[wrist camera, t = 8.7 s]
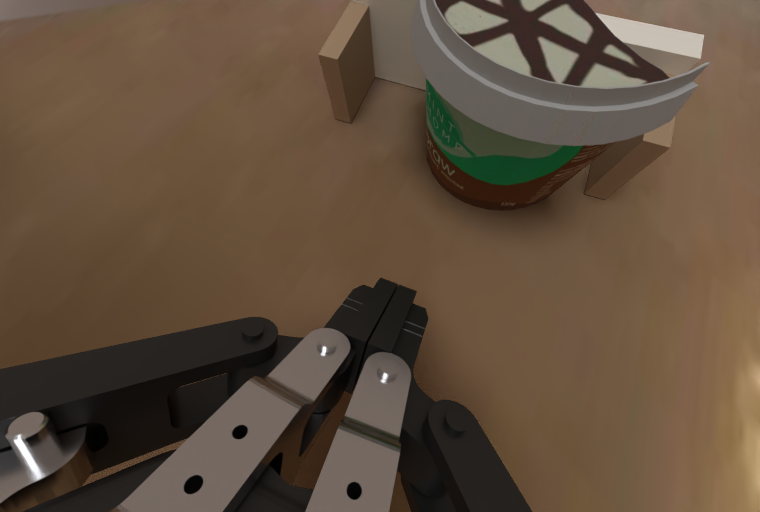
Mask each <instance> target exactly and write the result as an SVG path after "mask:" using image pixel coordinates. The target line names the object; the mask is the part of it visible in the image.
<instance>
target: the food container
mask: <svg viewBox="0 0 760 512" xmlns="http://www.w3.org/2000/svg"><path fill="white" fill-rule="evenodd" d="M411 35H412V46H413V49H414V53H415V56H416V59H417V62H418V64H419V66H420V68H421V70H422V71H423V73H424V75H425V77H426V151H427V161H428V164H429V166H430V169H431V171H432V174H433V175H434V177H435V178H436V180H437V181H438V183H439V184H440V185H441V186H442V187H443V188H444V189H445V190H446V191H448V192H449V193H450V194H452V195H453V196H454V197H456V198H458V199H460V200H461V201H463V202H465V203H468V204H471V205H473V206H476V207H480V208H485V209H491V210H513V209H518V208H523V207H527V206H530V205H532V204H535V203H537V202H539V201H541V200H543V199H545V198H547V197H548V196H549V195H551V194H552V193H553V192H554V191H556V190H557V189H558V188H559V187H561V186H562V185H563V184H564V183H566V182H567V181H568V180H569V179H571V178H572V177H573V176H574V175H576V174H577V173H578V172H579V171H581V170H582V169H583V168H584V167H586V166H587V165H588V164H589V163H591V162H592V161H593V160H594V159H596V158H597V157H598V156H599V155H601V154H602V153H603V152H604V151H606V150H607V149H608V148H609V147H611V146H612V145H613V144H614V143H616V142H617V141H622V140H627V139H630V138H633V137H636V136H639V135H642V134H645V133H648V132H651V131H653V130H655V129H657V128H659V127H661V126H662V125H664V124H666V123H668V122H670V121H671V120H672V119H673V118H674V116H675V115H676V114H677V112H678V111H679V110H680V109H681V107H682V106H683V105H684V103H685V102H686V101H687V99H688V98H689V97H690V96H691V94H692V93H693V92H694V90H695V89H696V88H697V87H698V85H697V84H695V83H694V82H692V81H693V80H694V79H695V78H696V77H697V76H698V75H699V74H700V73H701V72H702V71H703V70H704V69H705V68H706V67H707V66H708V65H709V64H710V63H708V62H706V63H704V64H702V65H700V66H698V67H696V68H694V69H693V70H691V71H689V72H686V73H683V74H680V75H677V76H674V77H671V78H670V77H668V76H667V75H666V74H665V73H664V72H663V70H661V69H659V68H658V67H656V66H654V65H653V64H651V63H649V62H648V61H646V60H644V59H643V58H641V57H640V56H639V55H638V54H637V53H635V52H634V51H633V50H632V49H630V48H629V47H628V46H627V45H626V44H624V43H623V42H622V41H621V40H620V39H618V38H617V37H616V36H615V35H614V34H613V33H612V32H611V31H610V30H609V29H608V27H607V26H606V25H605V24H604V23H603V22H602V21H601V19H600V18H599V17H598V16H597V15H596V14H595V13H594V11H593V10H592V9H591V8H590V7H589V6H588V5H587V4H586V3H585V2H584V0H416V4H415V8H414V12H413V19H412V25H411Z"/></svg>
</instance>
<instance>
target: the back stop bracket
mask: <svg viewBox="0 0 760 512" xmlns="http://www.w3.org/2000/svg"><path fill="white" fill-rule="evenodd" d="M415 4H416V0H351V2H350V3H349V5H348V7H347V8H346V10H345V12H344V13H343V15H342V16H341V18H340V20H339V21H338V23H337V25H336V26H335V28H334V30H333V31H332V33H331V34H330V36H329V38H328V39H327V41H326V43H325V44H324V46H323V48H322V49H321V51H320V53H319V54H318V55H319V59H320V63H321V66H322V70H323V74H324V78H325V81H326V85H327V89H328V93H329V96H330V100H331V104H332V108H333V111H334V115H335V119H338V120H341V121H345V122H348V123H351V122H352V120H353V118H354V116H355V114H356V112H357V110H358V109H359V107H360V105H361V103H362V101H363V99H364V97H365V95H366V93H367V91H368V90H369V88H370V86H371V84H372V82H373V80H374V78H375V77H377V78H381V79H385V80H388V81H392V82H396V83H400V84H403V85H407V86H411V87H414V88H418V89H422V90H425V91H426V77H425V75H424V73H423V71H422V70H421V68H420V66H419V64H418V62H417V59H416V56H415V53H414V49H413V46H412V35H411V25H412V19H413V12H414V8H415ZM595 14H596V15H597V16H598V17H599V18H600V19H601V21H602V22H603V23H604V24H605V25H606V26H607V27H608V29H609V30H610V31H611V32H612V33H613V34H614V35H615V36H616V37H617V38H618V39H620V40H621V41H622V42H623V43H624V44H626V45H627V46H628V47H629V48H630V49H632V50H633V51H634V52H635V53H637V54H638V55H639V56H640V57H641V58H643V59H644V60H646V61H648V62H649V63H651V64H653V65H654V66H656V67H658V68H659V69H661V70H663V72H664V73H665V74H666V75H667V76H668V77H670V78H671V77H674V76H677V75H680V74H683V73H686V72H688V71H689V70H690V69H691V68H692V67H693V66H694V65H695V64H696V63H697V62H698V61H699V60H700V58H701V52H702V45H703V39H704V35H701V34H696V33H691V32H686V31H681V30H676V29H671V28H666V27H661V26H656V25H652V24H647V23H642V22H637V21H632V20H627V19H622V18H617V17H612V16H607V15H603V14H598V13H595ZM675 118H676V115H675V116H674V118H673V119H672V120H671V121H670V122H668V123H666V124H664V125H662V126H661V127H659V128H657V129H655V130H653V131H651V132H648V133H645V134H642V135H639V136H636V137H633V138H630V139H627V140H622V141H617V142H616V143H614V144H613V145H612V146H611V147H609V148H608V149H607V150H606V151H604V152H603V153H602V154H601V155H599V156H598V157H597V158H596V159H594V160H593V161H592V164H591V168H590V172H589V176H588V180H587V184H586V188H585V192H584V194H587V195H590V196H593V197H597V198H600V199H603V200H605V199H606V198H607V197H608V196H610V195H611V194H612V193H613V192H615V191H616V190H617V189H619V188H620V187H621V186H622V185H624V184H625V183H626V182H627V181H629V180H630V179H631V178H633V177H634V176H635V175H636V174H638V173H639V172H640V171H641V170H643V169H644V168H645V167H647V166H648V165H649V164H650V163H652V162H653V161H654V160H655V159H657V158H658V157H659V156H661V155H662V154H663V153H664V152H666V151H667V150H668V149H669V148H670V147H671V141H672V135H673V130H674V124H675Z"/></svg>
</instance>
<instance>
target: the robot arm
mask: <svg viewBox="0 0 760 512" xmlns="http://www.w3.org/2000/svg"><path fill="white" fill-rule="evenodd" d="M397 287H398V288H397ZM416 293H417V291H415V290H412V289H410V288H407V287H404V286H402V285H399V286H398V284H396V283H394V282H391V281H388V280H386V279H383V278H380V279H379V280H378V282H377V283H376V285H375V286H374V288H371V287H368V286H366V285H362V286H359V287H357V288H355V289H353V291H352V292H351V293H350V294H349V296H348V297H347V299H346V300H345V301H344V302H343V304H342V305H341V306H340V307H339V309H338V310H337V311H336V313H335V314H334V315H333V316H332V318H331V319H330V320H329V322H328V323H327V324H326V326H325V327H324V328H320V329H316V330H314V331H312V332H310V333H309V334H308V335H307V336H306V337H304V338H297V337H289V336H282V335H278V330H277V327H276V326H275V324H274V323H273V322H271V321H270V320H268V319H265V318H261V317H248V318H243V319H238V320H234V321H229V322H224V323H219V324H214V325H210V326H205V327H200V328H195V329H191V330H186V331H181V332H176V333H172V334H167V335H162V336H157V337H152V338H148V339H143V340H138V341H133V342H129V343H124V344H119V345H114V346H109V347H105V348H100V349H95V350H90V351H86V352H81V353H76V354H71V355H66V356H62V357H57V358H52V359H47V360H43V361H38V362H33V363H28V364H23V365H19V366H14V367H9V368H4V369H0V512H389V509H390V504H391V499H392V493H393V488H394V483H395V477H396V472H397V470H398V471H399V472H400V473H401V482H402V486H403V489H404V491H405V494H406V497H407V500H408V503H409V506H410V509H411V512H532V510H531V509H530V507H529V506H528V504H527V502H526V501H525V499H524V497H523V496H522V494H521V492H520V491H519V489H518V487H517V486H516V484H515V482H514V481H513V479H512V478H511V476H510V474H509V473H508V471H507V469H506V468H505V466H504V464H503V463H502V461H501V459H500V458H499V456H498V454H497V453H496V451H495V450H494V448H493V446H492V445H491V443H490V441H489V440H488V438H487V436H486V435H485V433H484V431H483V430H482V428H481V426H480V425H479V423H478V421H477V420H476V418H475V417H474V415H473V414H472V413H471V412H470V411H469V410H468V409H467V408H465V407H464V406H463V405H461V404H459V403H457V402H454V401H451V400H441V401H438V402H435V401H433V400H432V399H431V398H430V397H428V396H427V395H426V394H425V393H424V392H423V391H422V390H421V389H420V388H419V387H418V385H417V383H416V382H415V379H414V376H413V367H414V363H415V360H416V357H417V354H418V350H419V347H420V344H421V341H422V337H423V334H424V331H425V328H426V324H427V321H428V316H427V313H426V309H425V308H423V307H420V306H418V305H415V304H413V301H414V298H415V296H416ZM224 373H227V374H224ZM221 374H223V375H221ZM217 375H220V376H217ZM214 376H217V377H214ZM211 377H213V378H211ZM207 378H210V379H207ZM204 379H207V380H204ZM200 380H203V381H200ZM197 381H200V382H197ZM194 382H196V383H194ZM190 383H193V384H190ZM187 384H190V385H187ZM183 385H186V386H183ZM181 386H183V387H181ZM355 386H356V387H355ZM354 388H355V390H354ZM353 390H354V393H353V395H352V398H351V401H350V403H349V406H348V408H347V411H346V413H345V416H344V418H343V420H342V421H341V423H340V425H339V427H338V430H337V432H336V435H335V437H334V440H333V442H332V445H331V447H330V450H329V452H328V455H327V458H326V460H325V463H324V465H323V468H322V470H321V473H320V475H319V478H318V481H317V483H316V486H315V488H314V490H312V489H306V488H301V487H295V486H291V485H292V483H293V481H294V478H295V476H296V473H297V471H298V469H299V467H300V465H301V463H302V462H303V460H304V458H305V457H306V455H307V454H308V452H309V450H310V449H311V447H312V446H313V444H314V442H315V441H316V439H317V438H318V436H319V435H320V433H321V431H322V430H323V428H324V427H325V425H326V423H327V422H328V420H329V419H330V417H331V415H332V414H333V412H334V410H335V407H336V405H337V403H338V402H339V400H340V398H341V396H342V394H343V392H344V391H346V392H348V393H350V394H352V392H353ZM186 438H188V439H187V440H186V441H185V442H184V443H183V444H182V445H181V446H180V447H179V448H178V449H175V450H172V451H169V452H165V453H162V454H160V455H157V456H155V457H152V458H150V459H147V460H145V461H143V462H140V463H138V464H135V465H133V466H131V467H128V468H126V469H123V470H121V471H119V472H116V473H114V474H111V475H109V476H107V477H104V478H102V479H99V480H97V481H95V482H92V483H90V484H87V485H85V486H83V487H81V486H82V485H83V484H84V483H85V481H86V480H87V479H88V477H89V476H90V475H91V474H94V473H96V472H99V471H102V470H104V469H107V468H110V467H112V466H115V465H117V464H120V463H123V462H125V461H128V460H131V459H133V458H136V457H139V456H141V455H144V454H147V453H149V452H152V451H155V450H157V449H160V448H162V447H165V446H168V445H170V444H173V443H176V442H178V441H181V440H184V439H186Z"/></svg>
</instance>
